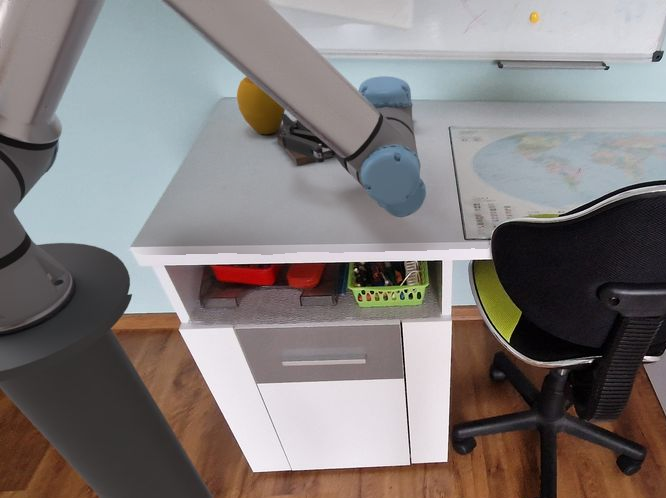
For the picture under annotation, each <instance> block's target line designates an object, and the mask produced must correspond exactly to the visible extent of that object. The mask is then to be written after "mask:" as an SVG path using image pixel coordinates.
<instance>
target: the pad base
mask: <svg viewBox="0 0 666 498" xmlns="http://www.w3.org/2000/svg"><path fill="white" fill-rule="evenodd" d="M292 121H293V122H294V123H295V124H296V125H297V120H292ZM297 126H298V125H297ZM276 141H277V143H278V145H279V146H280V147H281V149H282V150H283V151H284V152H285V153H286V154H287V155H288V156H289V158H290V159H291V160H292V161H293V163H294V164H295V165H296V166H301V165H306V164H309V163H314V162H317V161H316V160H315V159H313V158H311V157H308V156H305V155H302V154H300V153H297V152H294V151H291V150H288V149H285V148H283V144H282V140H281V135H280V134H279V135H276ZM331 158H334V157H333V156H331V155H329V156H326V157H324V160H327V159H331Z"/></svg>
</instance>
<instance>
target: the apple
mask: <svg viewBox="0 0 666 498" xmlns="http://www.w3.org/2000/svg"><path fill="white" fill-rule="evenodd" d="M236 99H237V105H238V110H239V111H240V114H241V116H242V117H243V119H244V120H245V122H246V123H247V124H248V125H249V126H250V128H252V129H253V130H254V131H255V132H256V133H258V134H260V135H273V134H275V133H276V132H278V130H279V129H280V127H281V125H282V124H283V120H282V115H281V114H285V111H286V110H285V109H284V108H283V107H282V106H281V105H279V104H278V103H277V102H276V101H275V100H273V99H272V98H271V97H270V96H269V95H268V94H266V93H265V92H264V91H263V90H262V89H261V88H259V87H258V86H257V85H256V84H255V83H253V82H252V81H251V80H250V79H249V78H248V77H246V76H245V77H244V78H243V79H241V81H240V82H239V84H238V87H237V91H236Z"/></svg>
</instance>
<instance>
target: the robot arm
mask: <svg viewBox="0 0 666 498" xmlns="http://www.w3.org/2000/svg"><path fill="white" fill-rule="evenodd" d="M106 1H107V0H0V336H6V335H11V334H15V333H19V332H22V331H25V330H28V329H30V328H33V327H35V326H37V325H40V324H42V323H44V322H45V321H47V320H49V319H51V318H52V317H54V316H55V315H57V314H58V313H59V312H61V311H62V310H63V309H64V308H65V307H66V306H67V305H68V304H69V303H70V301H71V300H72V298H73V296H74V294H75V291H76V284H75V281H74V279H73V278H72V276H71V274H70V273H69V271H68V270H67V269H66V268H65V267H64V266H63V265H62V264H60V263H59V262H58V261H57V260H55V259H54V258H53V257H52V256H50V255H49V254H48V253H47V252H45V251H44V250H43V249H42V248H40V247H39V246H38V245H39V244H37V243H35V242H34V240H33V239H32V238H31V236H30V235H29V234H28V232H27V231H26V229H25V227H24V226H23V224H22V223H21V221H20V219H19V218H18V217H17V215H16V213H15V209H16V208H17V207H18V206H19V205H20V203H21V202H22V201H23V199H24V198H25V197H26V196H27V195H28V193H30V191H31V190H32V189H33V188H34V186H35V185H37V183H38V182H39V181H40V180H41V178H42V177H43V176H44V175H45V174H46V173H48V172H49V171H50V169H52V167H53V166H54V164H55V162H56V160H57V156H58V152H59V149H60V148H59V147H60V143H59V140H60V138H61V136H62V132H63V125H62V121H61V119H60V117H58V115H57V114H56V112H57V110H58V109H59V106H60V103H61V101H62V99H63V96H64V95H65V92H66V90H67V87H68V85H69V83H70V81H71V79H72V77H73V74H74V72H75V70H76V68H77V65H78V63H79V61H80V59H81V56H82V54H83V52H84V49H85V48H86V45H87V43H88V41H89V39H90V36H91V34H92V32H93V29H94V27H95V26H96V23H97V21H98V19H99V17H100V15H101V12H102V9H103V8H104V5H105V3H106ZM156 1H157V2H158V3H159V4H160V5H162V6H163V7H164V8H165V9H166V10H167V11H168V12H170V14H172V15H173V16H174V17H176V18H177V19H178V20H179V21H180V22H181V23H183V25H185V26H186V27H187V28H189V29H190V30H191V31H192V32H193V33H194V34H196V35H197V36H198V37H200V38H201V40H203V41H204V42H205V43H206V44H208V45H209V46H210V47H211V48H212V49H213V50H215V51H216V53H218V54H219V55H220V56H221V57H223V59H225V60H226V61H227V62H229V63H230V64H231V65H232V66H233V67H234V68H236V69H237V70H238V71H239V72H240V73H242V74H243V75H244V76H245V77H248V78H249V79H250V80H251V81H252V82H253V83H255V84H256V85H257V86H258V87H259V88H261V89H262V90H263V91H264V92H265V93H266V94H268V95H269V96H270V97H271V98H272V99H273V100H275V101H276V102H277V103H278V104H279V105H281V106H282V107H283V108H284V109H285V111H286V112H288V114H289V115H291V116H292V117H293V118H294V119H297V120H298V121H299V122H300V123H302V124H303V125H304V126H305V127H306V128H308V129H309V130H310V131H311V132H308V131H302V130H298V126H297V125H296V124H295V123H294V122H293V121H294V120H292V119H291V118H290V117H289V116H288V115H287V114H286V113H284V114H281V115H282V124H283V126H282V128H283V131H282V132H281V133H280V134H279V135H281V140H282V144H283V148H285V149H288V150H291V151H294V152H297V153H300V154H302V155H305V156H308V157H311V158H313V159H315V160H316V161H315V162H317V163H324V162H325V159H324V157H326V156H329V155H331V156H333V157H332V158H336V159H337V161H338V162H339V164H340V165H341V166H342V168H343V169H344V170H346V172H347V173H348V174H349V175H351V176H352V178H353V179H355V181H356V182H358V184H359V185H360V186H361V187H362V188H363V189H364V190H365V192H366V193H367V195H368V196H369V197H370V198H371V199H373V201H375V202H377V204H378V206H379V207H380V208H383V209H384V210H385V211H386V212H388V213H389V214H390V215H391V216H393V217H396V218H405V217H409V216H411V215H413V214H415V213H416V212H417V211H419V209H420V208H421V207H422V206H423V204H424V201H425V199H426V195H427V188H426V184H425V183H424V180H423V179H422V178H421V160H420V158H419V155H418V148H417V143H416V136H415V129H414V123H413V102H412V93H411V90H412V89H411V87H410V85H409V83H408V82H407V81H406V80H404V79H402V78H399V77H395V76H388V75H381V76H373V77H369V78H367V79H365V80H364V81H362V82H361V84H360V85H359V87H358V89H357V88H356V87H355V86H354V85H353V84H352V83H351V82H350V81H349V80H348V79H347V78H346V77H345V76H344V75H343V74H342V72H341V73H340V71H339V70H337V68H336V67H335V66H334V65H332V64H331V62H329V60H327V59H326V58H325V57H324V56H323V55H322V54H321V53H320V52H319V51H318V50H317V49H316V48H315V47H314V46H313V45H312V44H311V43H310V42H309V41H308V40H307V39H306V38H305V37H304V36H303V35H302V34H301V33H300V32H299V31H298V30H296V28H294V27H293V25H291V24H290V23H289V22H288V21H287V20H286V19H285V18H284V17H283V16H282V15H281V14H280V13H279V12H278V11H277V10H276V9H275V8H274V7H273V6H272V5H271V4H270V3H269V2H268V1H267V0H156ZM297 120H296V121H297ZM283 148H282V149H283Z"/></svg>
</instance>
